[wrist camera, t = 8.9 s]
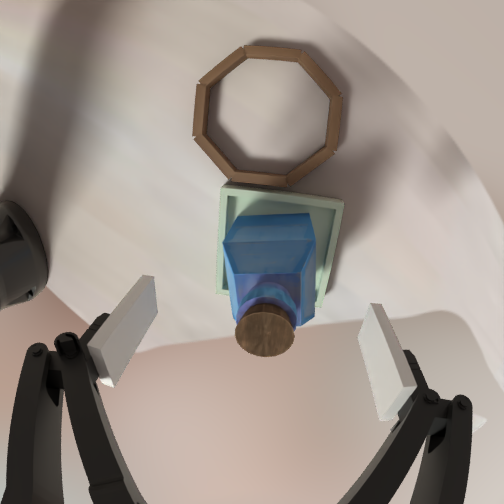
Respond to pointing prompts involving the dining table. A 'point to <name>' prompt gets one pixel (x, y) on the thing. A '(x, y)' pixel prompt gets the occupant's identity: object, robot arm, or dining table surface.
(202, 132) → the ring
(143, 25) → the dining table surface
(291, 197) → the tray
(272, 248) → the perfume bottle
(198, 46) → the dining table surface
